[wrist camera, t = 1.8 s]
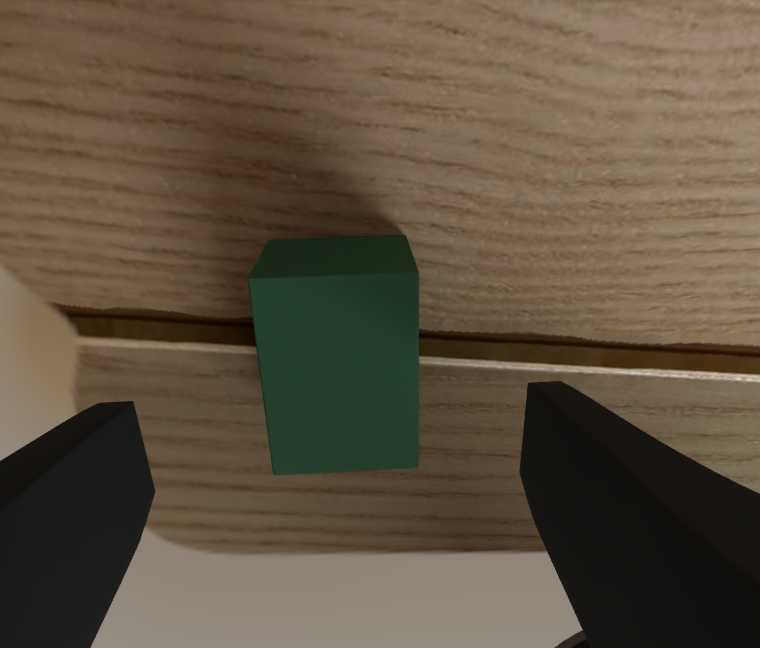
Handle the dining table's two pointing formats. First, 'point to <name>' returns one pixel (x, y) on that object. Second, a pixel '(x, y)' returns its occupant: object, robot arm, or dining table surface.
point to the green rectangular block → (338, 353)
